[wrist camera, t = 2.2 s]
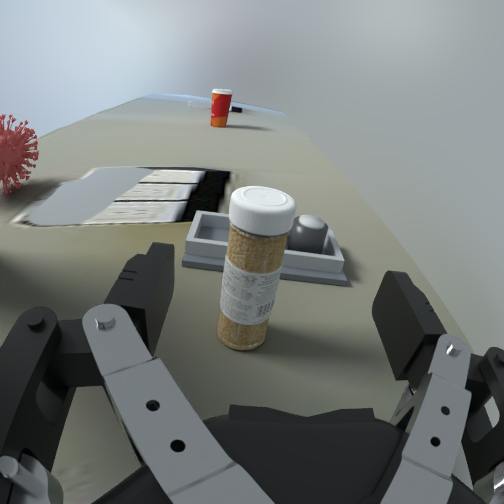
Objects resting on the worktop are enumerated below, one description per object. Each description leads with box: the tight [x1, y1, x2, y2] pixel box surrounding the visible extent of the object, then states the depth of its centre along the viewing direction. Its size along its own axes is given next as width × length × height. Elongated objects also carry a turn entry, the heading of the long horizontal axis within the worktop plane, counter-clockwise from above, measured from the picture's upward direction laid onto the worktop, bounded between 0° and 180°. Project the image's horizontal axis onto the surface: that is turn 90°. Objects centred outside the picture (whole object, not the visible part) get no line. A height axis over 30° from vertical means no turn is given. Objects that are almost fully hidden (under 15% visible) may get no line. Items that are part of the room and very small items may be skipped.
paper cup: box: [211, 89, 233, 127], centre depth 110 cm, size 8×8×14 cm
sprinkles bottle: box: [217, 186, 296, 350], centre depth 26 cm, size 5×5×13 cm
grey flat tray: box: [182, 211, 347, 286], centre depth 41 cm, size 19×11×5 cm, turn 89°
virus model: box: [0, 115, 39, 194], centre depth 44 cm, size 15×15×15 cm
